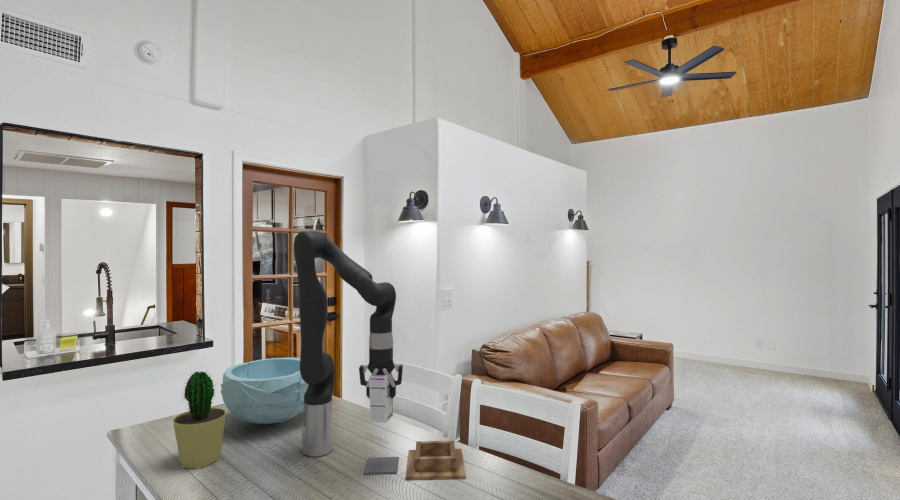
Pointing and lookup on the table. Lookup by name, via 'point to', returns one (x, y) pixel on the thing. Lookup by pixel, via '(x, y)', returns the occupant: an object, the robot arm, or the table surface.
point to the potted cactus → (199, 424)
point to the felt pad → (381, 465)
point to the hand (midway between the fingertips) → (381, 397)
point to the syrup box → (380, 398)
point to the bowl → (264, 390)
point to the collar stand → (435, 461)
